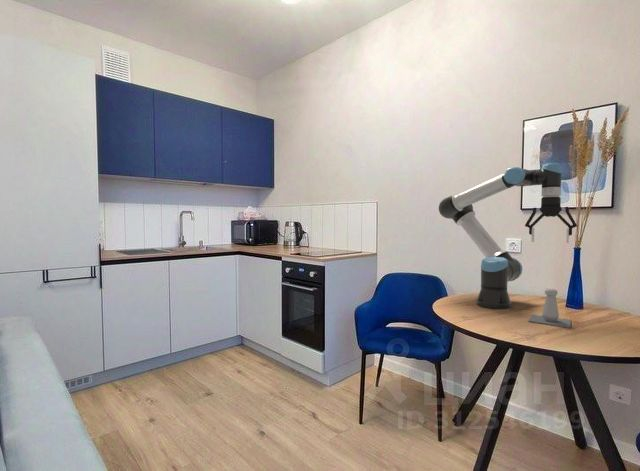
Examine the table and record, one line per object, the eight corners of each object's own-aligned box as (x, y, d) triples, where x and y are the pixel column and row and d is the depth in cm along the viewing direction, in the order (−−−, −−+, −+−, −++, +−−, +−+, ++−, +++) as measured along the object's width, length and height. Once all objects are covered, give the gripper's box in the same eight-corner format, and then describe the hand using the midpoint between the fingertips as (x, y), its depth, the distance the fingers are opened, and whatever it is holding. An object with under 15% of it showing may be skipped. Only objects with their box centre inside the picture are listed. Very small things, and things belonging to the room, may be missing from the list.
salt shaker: (542, 321, 141) (543, 289, 141) (541, 317, 146) (542, 287, 146) (559, 323, 138) (560, 291, 138) (558, 319, 143) (558, 288, 143)
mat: (528, 321, 142) (528, 320, 142) (531, 315, 151) (531, 314, 151) (570, 328, 133) (570, 326, 133) (570, 321, 143) (570, 319, 143)
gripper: (519, 197, 165) (518, 241, 166) (584, 195, 150) (583, 243, 151) (521, 198, 171) (520, 240, 172) (584, 196, 156) (582, 242, 157)
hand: (549, 242), depth 161 cm, fingers open, 13 cm apart
